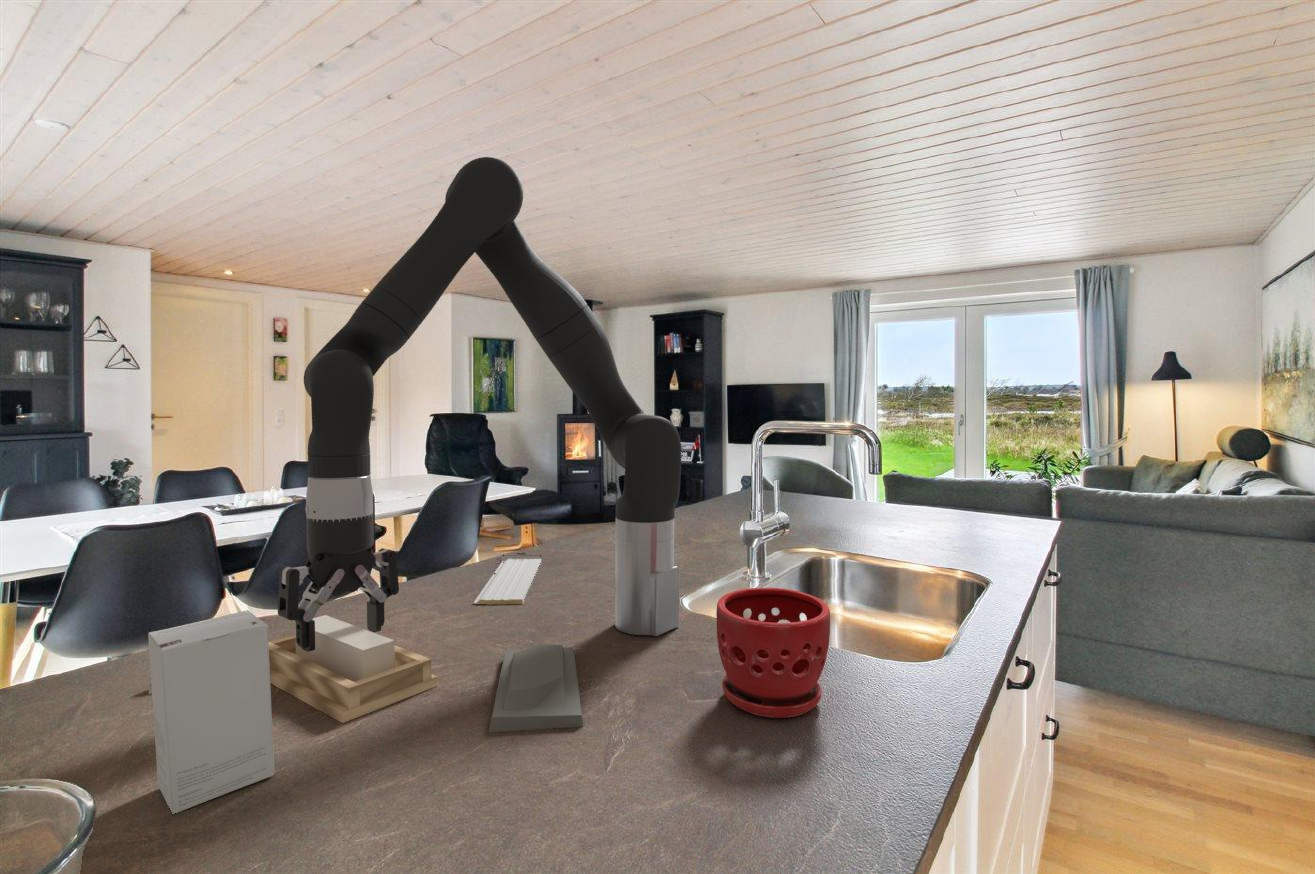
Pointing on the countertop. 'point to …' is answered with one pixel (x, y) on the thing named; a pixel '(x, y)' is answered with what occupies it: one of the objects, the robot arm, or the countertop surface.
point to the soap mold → (537, 690)
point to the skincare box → (211, 707)
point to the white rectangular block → (349, 649)
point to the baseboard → (510, 581)
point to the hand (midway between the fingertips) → (342, 639)
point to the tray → (347, 681)
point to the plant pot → (772, 650)
